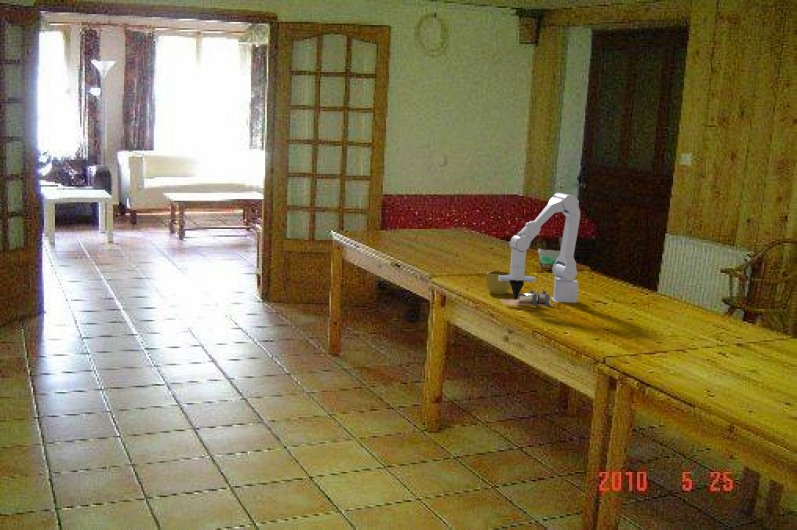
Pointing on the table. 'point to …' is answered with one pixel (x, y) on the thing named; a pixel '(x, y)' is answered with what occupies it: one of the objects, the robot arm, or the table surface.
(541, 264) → the food container
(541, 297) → the tube
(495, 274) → the flower pot
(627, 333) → the table surface
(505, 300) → the tile
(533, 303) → the rail
